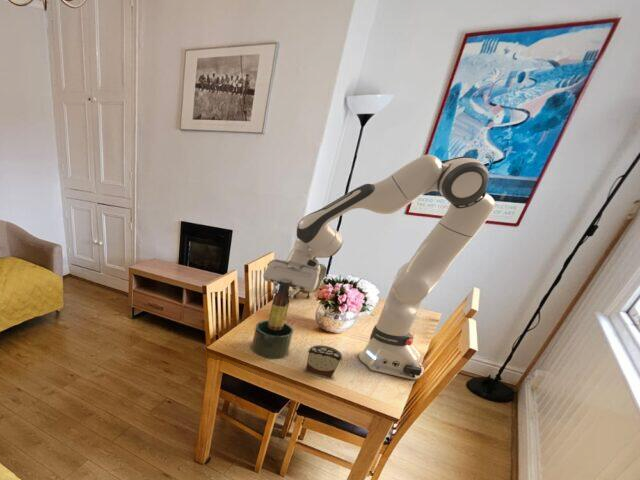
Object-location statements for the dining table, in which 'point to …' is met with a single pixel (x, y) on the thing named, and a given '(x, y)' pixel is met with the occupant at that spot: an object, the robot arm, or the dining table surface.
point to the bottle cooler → (271, 340)
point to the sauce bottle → (279, 306)
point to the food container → (323, 360)
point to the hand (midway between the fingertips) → (282, 295)
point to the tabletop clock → (321, 276)
